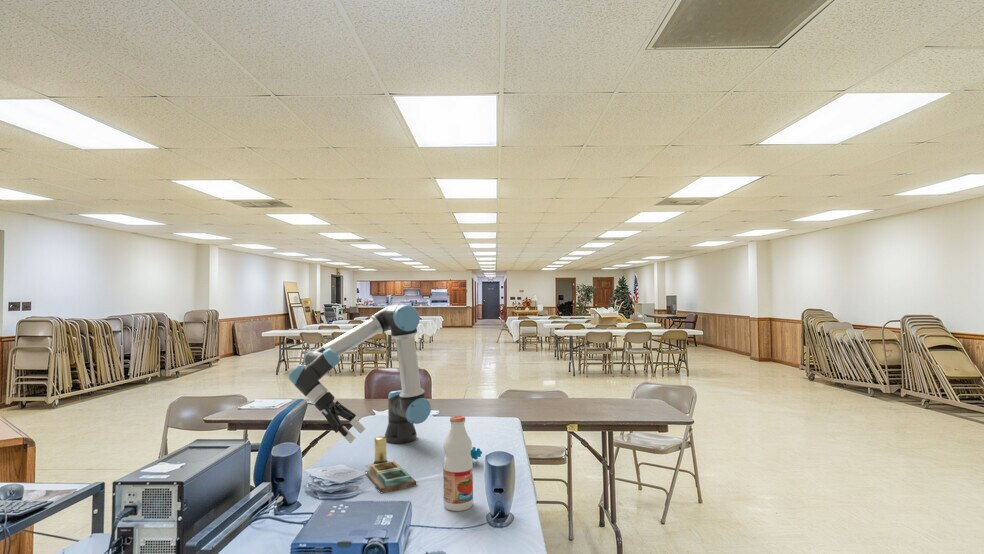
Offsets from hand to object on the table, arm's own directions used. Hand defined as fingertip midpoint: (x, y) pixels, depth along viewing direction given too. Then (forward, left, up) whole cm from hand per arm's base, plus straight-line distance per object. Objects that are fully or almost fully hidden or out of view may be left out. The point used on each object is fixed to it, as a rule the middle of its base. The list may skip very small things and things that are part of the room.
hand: (358, 435), depth 189 cm
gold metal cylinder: (-8, +4, -12) cm, 15 cm away
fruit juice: (-19, +52, -13) cm, 57 cm away
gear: (-40, +18, -13) cm, 45 cm away
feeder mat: (-8, +4, -13) cm, 15 cm away
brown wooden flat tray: (-7, +19, -13) cm, 24 cm away
